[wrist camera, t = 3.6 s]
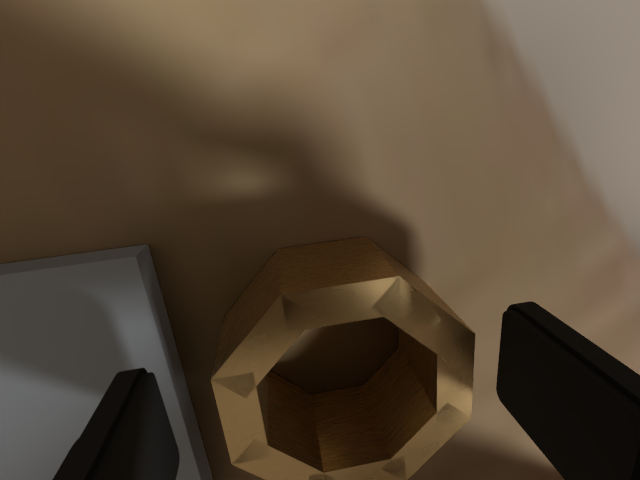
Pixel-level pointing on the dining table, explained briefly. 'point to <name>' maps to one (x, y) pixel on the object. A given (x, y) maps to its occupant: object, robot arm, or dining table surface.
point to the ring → (349, 403)
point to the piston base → (83, 355)
